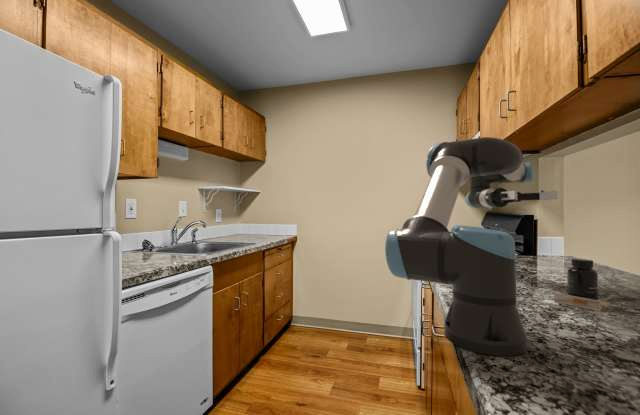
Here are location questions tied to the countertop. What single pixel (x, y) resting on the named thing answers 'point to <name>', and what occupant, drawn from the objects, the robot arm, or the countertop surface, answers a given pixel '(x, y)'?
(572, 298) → the flat beige box
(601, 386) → the countertop surface
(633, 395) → the countertop surface
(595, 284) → the supplement bottle
